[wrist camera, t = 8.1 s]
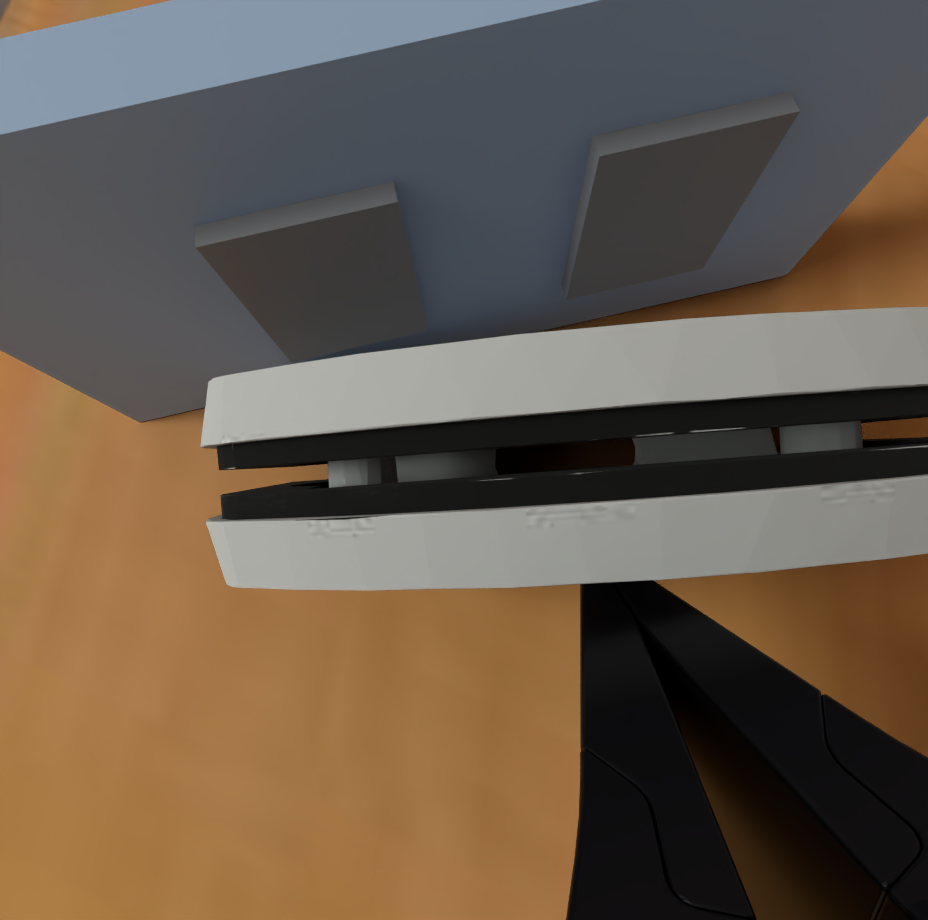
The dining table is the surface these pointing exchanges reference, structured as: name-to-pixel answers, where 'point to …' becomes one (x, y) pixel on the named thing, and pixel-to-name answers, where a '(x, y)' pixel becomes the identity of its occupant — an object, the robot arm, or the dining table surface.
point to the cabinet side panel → (417, 171)
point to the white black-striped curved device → (581, 490)
